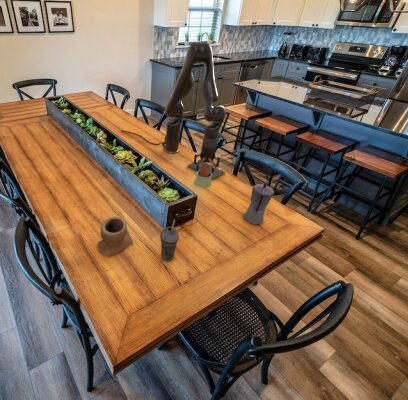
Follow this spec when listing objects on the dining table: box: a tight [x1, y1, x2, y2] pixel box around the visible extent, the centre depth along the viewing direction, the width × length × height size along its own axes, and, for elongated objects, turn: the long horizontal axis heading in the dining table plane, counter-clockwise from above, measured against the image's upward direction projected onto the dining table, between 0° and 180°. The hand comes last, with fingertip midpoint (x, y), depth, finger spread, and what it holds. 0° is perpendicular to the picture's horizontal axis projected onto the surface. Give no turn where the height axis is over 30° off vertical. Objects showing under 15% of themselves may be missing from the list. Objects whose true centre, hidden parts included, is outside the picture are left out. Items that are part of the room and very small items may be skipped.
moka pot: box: [243, 183, 275, 225], centre depth 126 cm, size 10×15×20 cm, turn 161°
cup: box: [194, 170, 212, 188], centre depth 154 cm, size 9×9×6 cm
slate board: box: [187, 159, 226, 181], centre depth 167 cm, size 20×12×2 cm, turn 44°
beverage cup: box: [159, 219, 180, 262], centre depth 104 cm, size 7×7×20 cm
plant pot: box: [200, 162, 211, 177], centre depth 152 cm, size 6×6×11 cm
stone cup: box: [96, 216, 133, 257], centre depth 108 cm, size 15×12×15 cm
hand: (204, 171), depth 151 cm, fingers open, 7 cm apart
